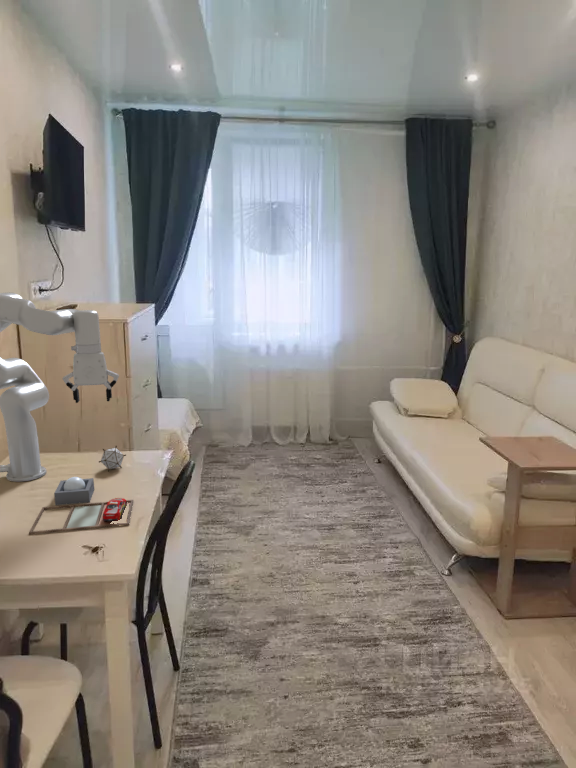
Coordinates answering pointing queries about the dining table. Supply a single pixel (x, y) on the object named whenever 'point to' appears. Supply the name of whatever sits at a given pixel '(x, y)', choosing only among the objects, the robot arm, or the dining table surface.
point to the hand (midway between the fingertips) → (93, 401)
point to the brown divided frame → (82, 517)
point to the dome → (74, 484)
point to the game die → (112, 458)
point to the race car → (114, 509)
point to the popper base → (74, 493)
